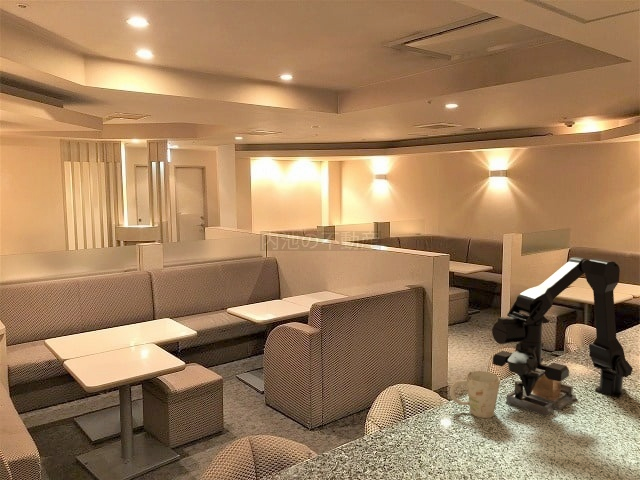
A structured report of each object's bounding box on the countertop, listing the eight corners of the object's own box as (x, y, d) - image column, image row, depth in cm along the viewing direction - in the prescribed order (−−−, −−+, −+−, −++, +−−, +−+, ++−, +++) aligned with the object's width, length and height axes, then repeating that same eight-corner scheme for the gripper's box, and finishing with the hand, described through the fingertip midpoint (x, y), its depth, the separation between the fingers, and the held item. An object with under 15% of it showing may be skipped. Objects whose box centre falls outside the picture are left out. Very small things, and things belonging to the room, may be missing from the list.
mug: (500, 421, 127) (502, 384, 126) (450, 417, 130) (451, 380, 129) (496, 407, 135) (497, 372, 134) (448, 403, 138) (449, 368, 137)
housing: (532, 392, 142) (533, 370, 141) (541, 387, 146) (542, 366, 145) (552, 398, 138) (553, 376, 137) (560, 393, 142) (561, 371, 141)
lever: (515, 397, 140) (516, 380, 139) (525, 400, 138) (525, 383, 137) (511, 399, 138) (512, 382, 138) (521, 402, 136) (522, 385, 136)
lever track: (513, 398, 141) (513, 390, 141) (552, 411, 133) (553, 403, 133) (506, 402, 138) (506, 394, 138) (546, 416, 130) (546, 408, 130)
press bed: (534, 385, 150) (534, 375, 150) (575, 398, 141) (576, 387, 141) (517, 396, 143) (517, 385, 142) (560, 410, 134) (560, 398, 134)
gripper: (483, 338, 136) (481, 394, 137) (553, 354, 122) (551, 415, 123) (502, 330, 143) (501, 383, 145) (570, 344, 130) (568, 402, 131)
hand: (528, 395), depth 136 cm, fingers closed
